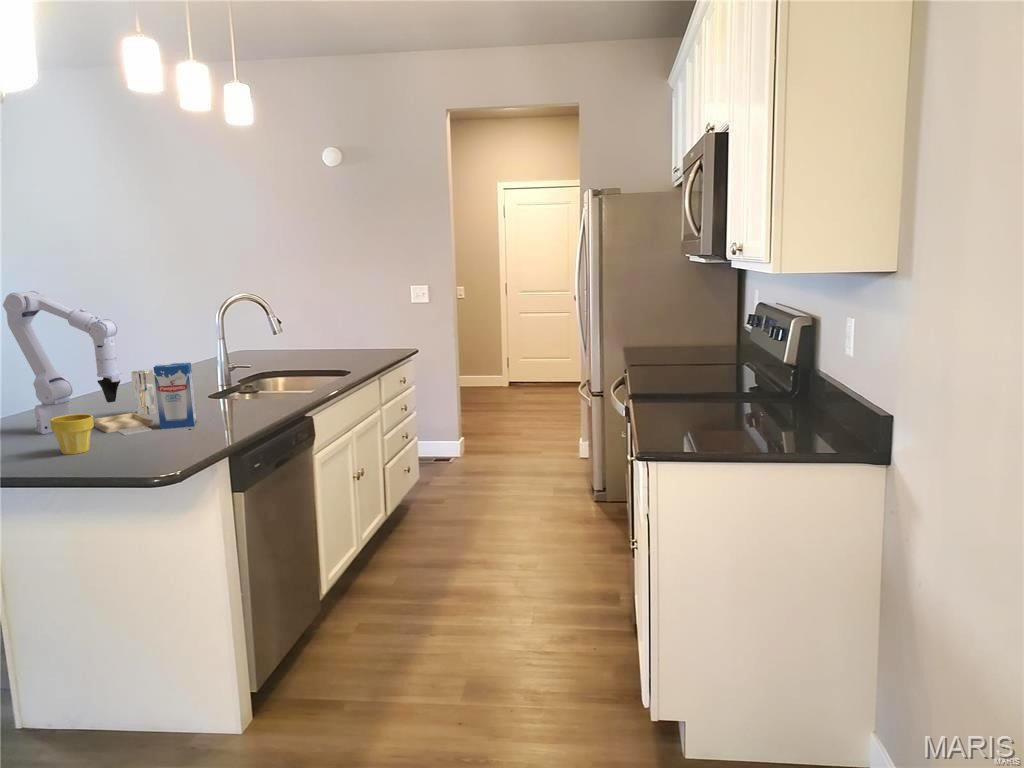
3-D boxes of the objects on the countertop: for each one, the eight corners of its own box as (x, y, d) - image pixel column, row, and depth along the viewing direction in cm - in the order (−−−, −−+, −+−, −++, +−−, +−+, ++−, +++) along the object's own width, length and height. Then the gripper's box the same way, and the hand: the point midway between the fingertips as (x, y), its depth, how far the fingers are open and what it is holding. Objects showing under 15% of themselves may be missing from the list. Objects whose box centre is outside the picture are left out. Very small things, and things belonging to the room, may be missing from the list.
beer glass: (134, 417, 253) (129, 373, 251) (136, 413, 260) (131, 370, 257) (157, 415, 256) (152, 371, 253) (158, 411, 262) (153, 369, 260)
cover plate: (124, 438, 227) (124, 433, 226) (117, 434, 232) (116, 430, 231) (152, 433, 232) (151, 428, 232) (144, 430, 237) (144, 425, 237)
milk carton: (160, 431, 233) (153, 367, 229) (163, 426, 239) (156, 364, 235) (194, 428, 236) (188, 365, 232) (197, 423, 242) (191, 362, 238)
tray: (107, 434, 230) (106, 427, 230) (90, 426, 242) (89, 419, 241) (153, 426, 239) (152, 419, 239) (135, 419, 251) (134, 412, 251)
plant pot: (104, 445, 216) (99, 412, 215) (85, 455, 206) (80, 420, 205) (67, 447, 216) (62, 413, 214) (46, 457, 206) (41, 422, 204)
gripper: (127, 359, 231) (132, 403, 233) (113, 355, 241) (117, 396, 244) (102, 362, 226) (107, 406, 229) (88, 357, 236) (93, 400, 239)
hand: (111, 401), depth 236 cm, fingers closed
